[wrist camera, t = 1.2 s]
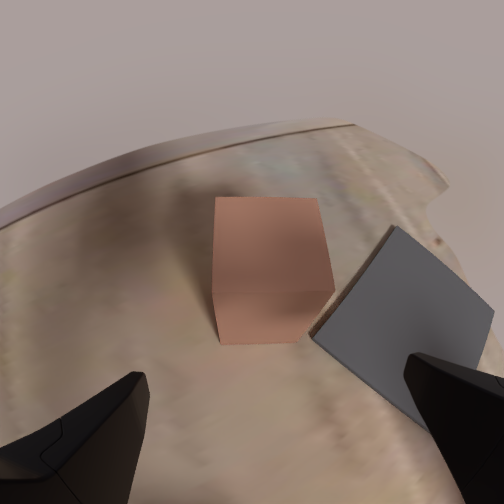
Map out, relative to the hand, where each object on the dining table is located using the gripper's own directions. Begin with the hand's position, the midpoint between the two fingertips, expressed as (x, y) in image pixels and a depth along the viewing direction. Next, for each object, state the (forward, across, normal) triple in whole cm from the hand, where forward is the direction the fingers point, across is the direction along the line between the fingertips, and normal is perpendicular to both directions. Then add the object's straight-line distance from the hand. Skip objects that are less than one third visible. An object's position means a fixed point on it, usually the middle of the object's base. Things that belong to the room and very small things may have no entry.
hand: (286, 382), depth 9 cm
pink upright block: (+15, 0, +4) cm, 15 cm away
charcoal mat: (+13, -16, +6) cm, 21 cm away
